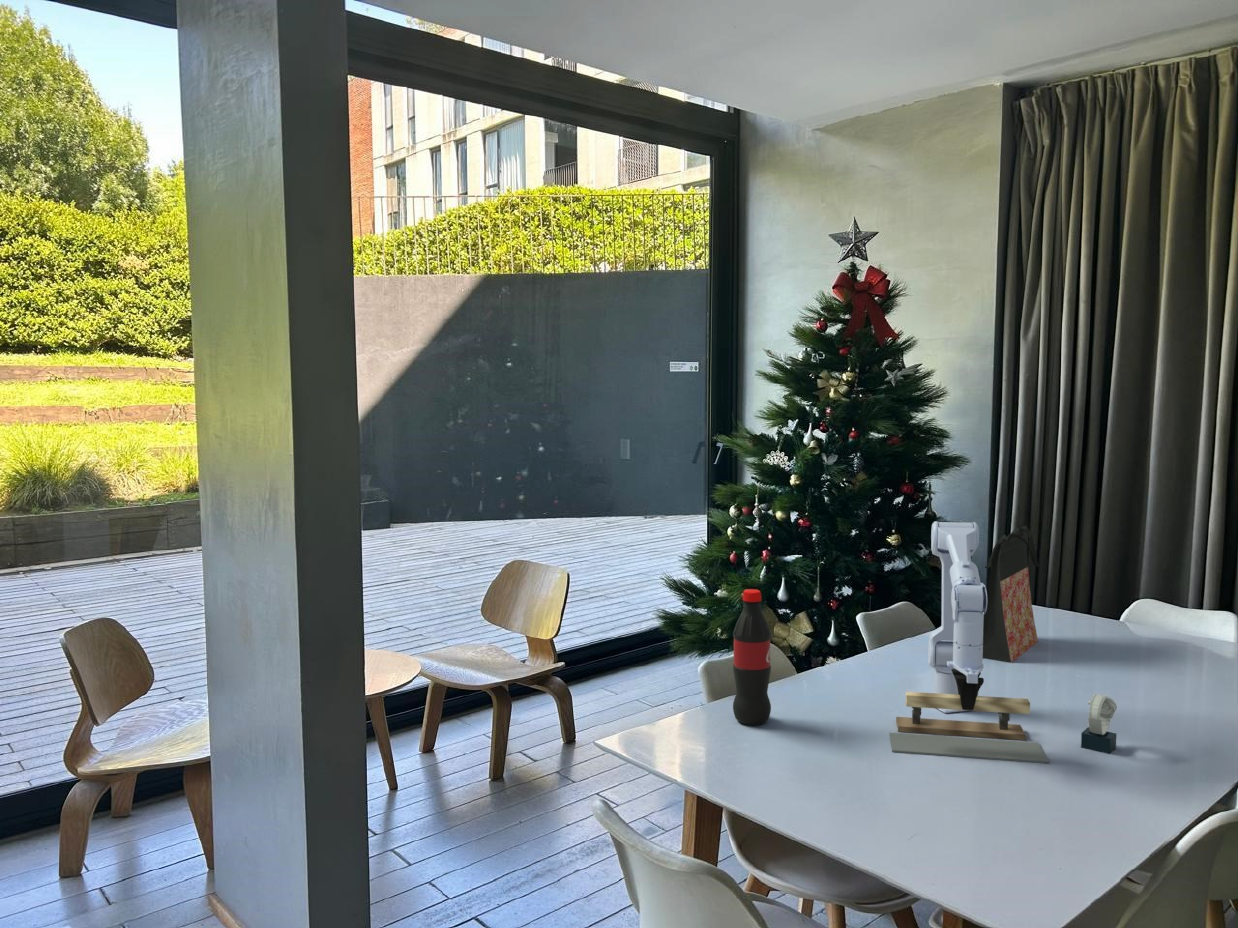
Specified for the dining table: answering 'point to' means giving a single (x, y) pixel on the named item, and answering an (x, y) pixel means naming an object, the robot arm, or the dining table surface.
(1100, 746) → the watch
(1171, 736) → the dining table surface
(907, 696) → the rail
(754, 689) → the cola bottle
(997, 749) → the mat
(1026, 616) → the gift bag
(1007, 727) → the rack
